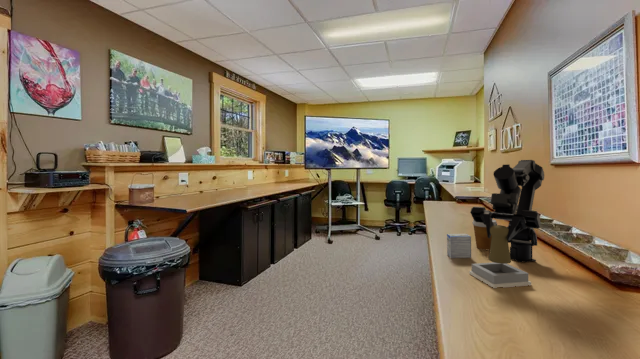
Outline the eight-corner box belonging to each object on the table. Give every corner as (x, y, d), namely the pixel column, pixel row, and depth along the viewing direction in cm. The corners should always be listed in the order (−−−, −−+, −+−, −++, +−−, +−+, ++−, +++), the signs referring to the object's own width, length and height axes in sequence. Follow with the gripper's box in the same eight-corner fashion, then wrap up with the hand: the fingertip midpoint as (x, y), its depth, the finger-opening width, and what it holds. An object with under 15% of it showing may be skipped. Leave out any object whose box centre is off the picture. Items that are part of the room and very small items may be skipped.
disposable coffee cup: (502, 248, 128) (502, 220, 127) (489, 252, 123) (489, 223, 123) (480, 243, 136) (480, 217, 136) (467, 247, 131) (467, 220, 131)
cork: (513, 259, 95) (512, 225, 94) (508, 264, 90) (507, 228, 90) (491, 256, 99) (491, 223, 98) (486, 261, 95) (485, 226, 94)
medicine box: (467, 254, 121) (467, 233, 120) (471, 258, 116) (471, 236, 116) (446, 255, 122) (446, 233, 121) (450, 258, 117) (450, 236, 117)
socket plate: (502, 271, 102) (502, 261, 101) (531, 285, 90) (531, 273, 90) (469, 273, 100) (469, 263, 100) (493, 288, 89) (493, 276, 88)
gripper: (471, 183, 103) (459, 220, 96) (538, 184, 89) (529, 227, 82) (480, 203, 109) (469, 239, 102) (544, 207, 95) (536, 249, 88)
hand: (497, 238), depth 93 cm, fingers closed on cork, 5 cm apart
